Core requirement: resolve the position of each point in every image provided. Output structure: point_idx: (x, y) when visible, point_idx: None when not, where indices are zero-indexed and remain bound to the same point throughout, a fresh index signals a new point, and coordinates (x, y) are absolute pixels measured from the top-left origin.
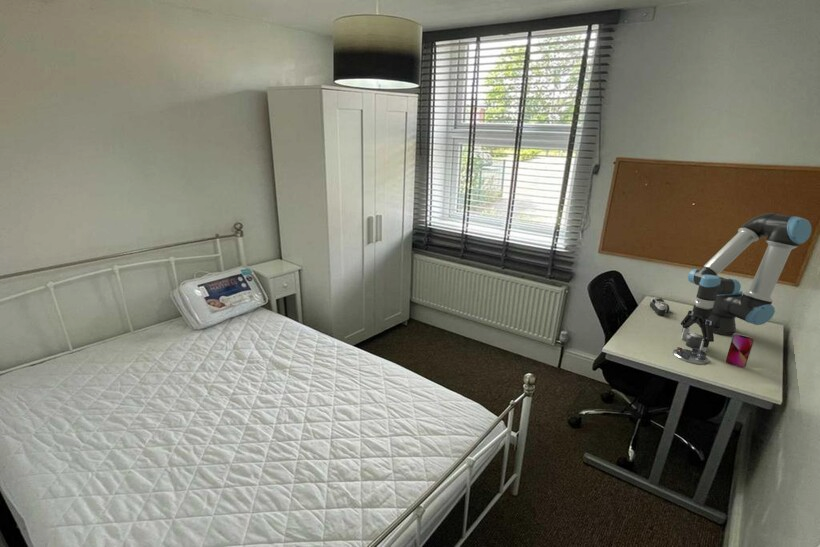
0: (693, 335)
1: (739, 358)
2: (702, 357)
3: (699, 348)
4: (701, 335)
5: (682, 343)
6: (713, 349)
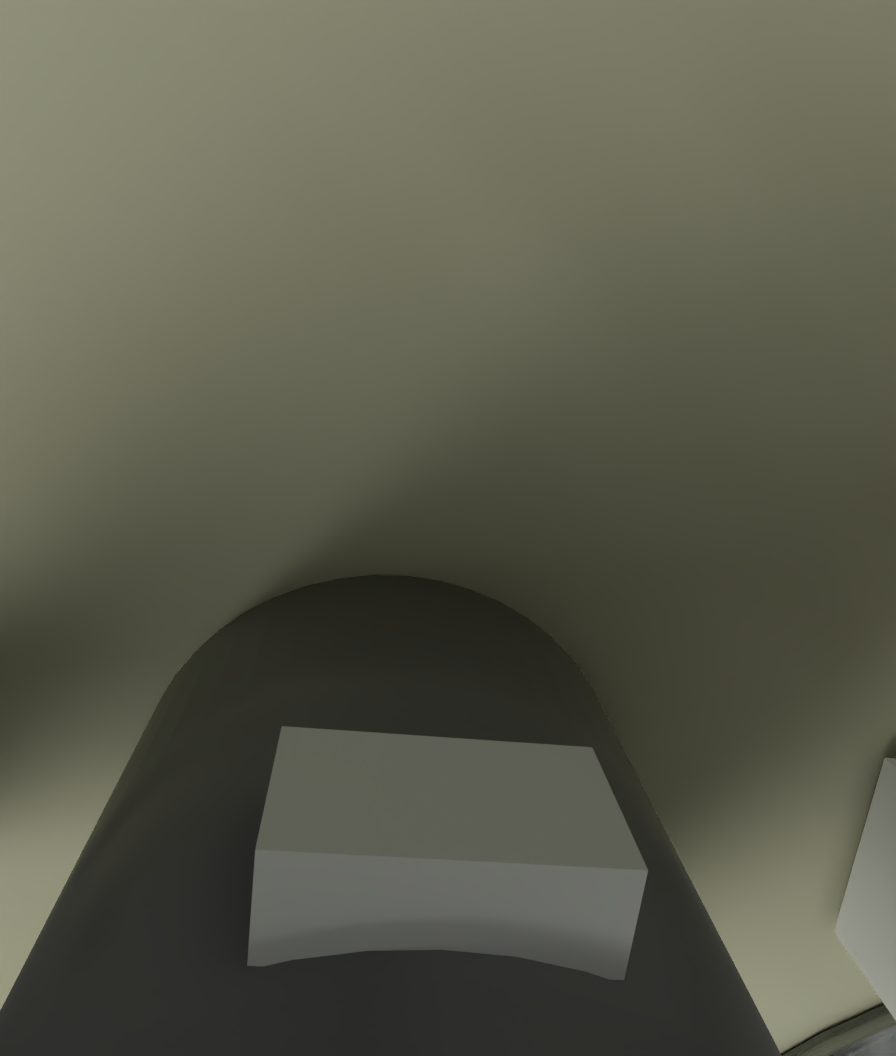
0: None
1: None
2: None
3: (598, 703)
4: (341, 874)
5: None
6: (744, 108)
